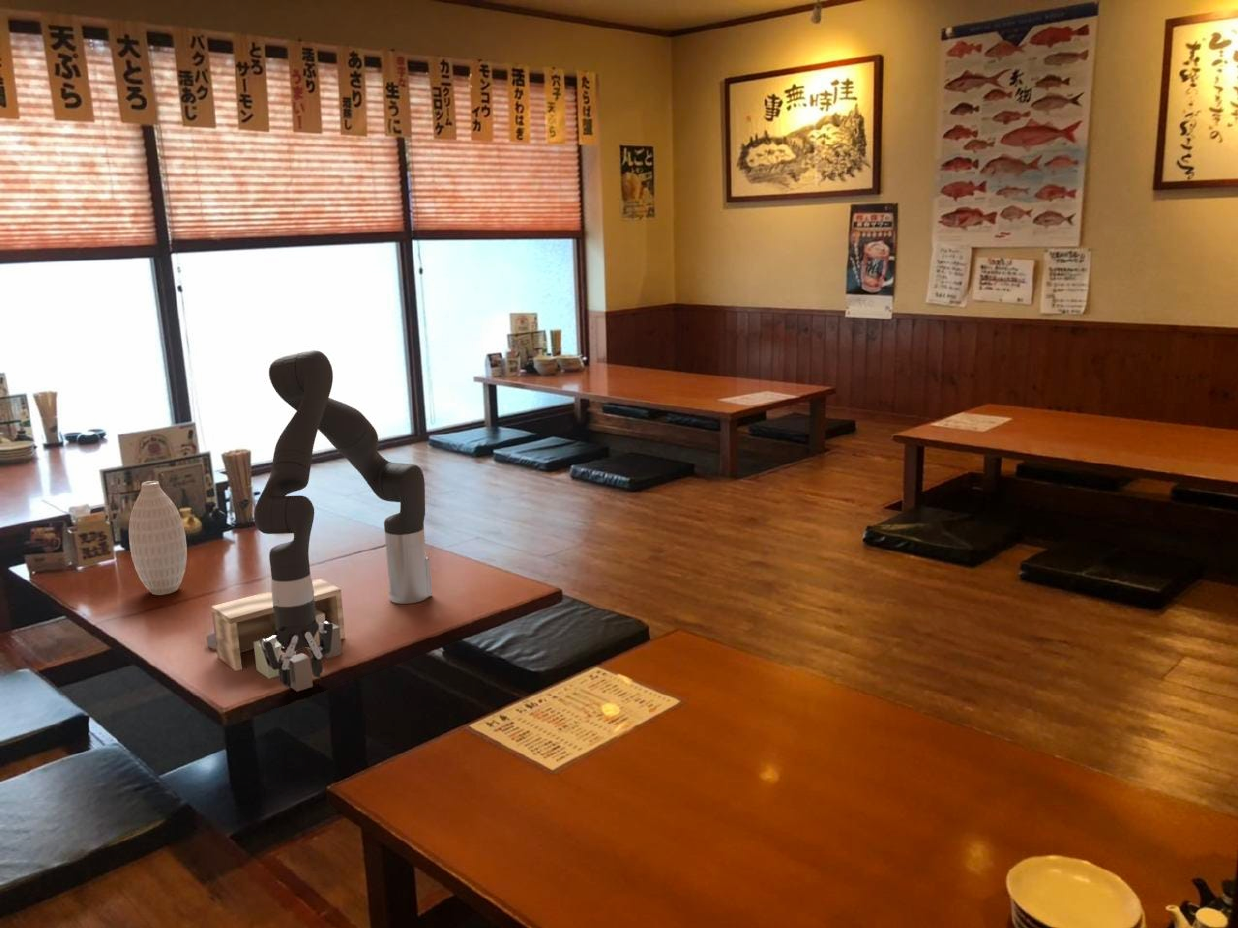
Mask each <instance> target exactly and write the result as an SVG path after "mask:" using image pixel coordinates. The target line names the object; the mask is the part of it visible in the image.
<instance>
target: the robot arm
mask: <svg viewBox="0 0 1238 928" xmlns="http://www.w3.org/2000/svg"><path fill="white" fill-rule="evenodd" d="M333 371H334V370H333V368H332V364H331V362H330V360H329V358H328V357H327V356H326V355H325V354H324V352H322V351H320V350H316V349H315V350H307V351H302V352H297V353H294V354H290V355H285V356H281V357H279V358H277V359H275V360H274V361H272V362H271V364H270V365H269V368H268V376H269V381H270V383H271V385H272V387H273V389H274V391H275V393H276V394H277V395H278V396H279V397H280V399H282V400H283V402H285V403H287V405H289V406H290V407H292V409H294V410H295V411H296V412H295V413H294V414H293V416H292V418H291V419H290V421H289V422H288V423H287V425H286V426H285V428H284V429H283V431H282V433H281V434H280V436H279V437H278V439H277V441H276V445H275V447H274V451H273V457H272V465H271V470H270V474H269V478H268V480H267V482H266V484H265V486H264V488H263V490H262V492H261V493H260V496H259V498H258V500H257V502H256V503H255V508H254V511H253V520H254V525H255V526H256V528H257V529H258V531H259V532H261V533H262V534H265V535H277V534H278V535H283V534H293V539H292V540H291V541H288V542H284V543H280V544H277V545H275V546H273V547H272V548H271V549H270V551H269V556H268V557H269V566H270V574H271V575H270V577H271V590H270V591H272V601H273V610H274V619H275V626H276V630H275V633H274V635H273V636H271V637H269V638H267V639H265V638H262V639H261V640H260V644H261V647H262V650H263V653H264V656H265V659H266V662H267V665H268V666H270V667H271V668H272V669H274V670H276V669H279V676H278V677H279V682H280V683H281V684H282V685H283V686H284V687H286V688H289V687H290V686H291V679H290V670H289V668H288V665H289V662H290V659H291V658H292V656H293V652H294V651H296V652H297V651H299V650H301V649H306V648H307V650H308V652H309V654H310V655H311V657H310V664H311V674H312V677H314V678H320V677H321V674H322V673H323V661H322V660H323V657H324V656H323V655H324V654H326V653H329V652H330V651H331V640H332V630H333V625H332V624H331V623H329V622H327V621H323V622H322V623H317V621H316V612H315V602H314V589H313V583H312V580H313V579H312V575H311V567H310V559H309V558H310V557H309V554H310V553H309V548H310V539H311V533H312V528H313V524H314V519H315V507H314V505H313V502H312V500H310V499H309V497H307V496H306V495H305V496H304V495H298V494H297V495H289V494H292V493H296V492H299V491H302V490H303V489H305V488H306V487H307V486H308V485H309V480H310V474H311V467H312V460H313V459H312V458H313V451H314V447H315V443H316V442H315V441H316V439H317V438H316V437H317V434H318V431H319V432H320V433H321V434H322V435H323V436H324V437H325V438H326V439H327V440H328V442H329V443H330V444H331V445H332V446H333V447H334V448H335V449H336V450H337V451H338V452H339V453H340V454H341V455H342V456H343V457H345V459H346V460H347V461H348V462H349V463H350V464H351V465H352V466H353V468H354V469H356V471H357V472H358V473H359V474H360V475H361V477H362V478H363V479H364V481H365V482H366V484H367V485H368V486H369V487H370V489H371V490H372V491H373V494H375V496H377V497H378V498H379V499H381V500H382V501H385V502H390V503H391V502H392V503H400V505H399V506H400V509H399V510H400V511H399V512H397V513H395V514H392V515H389V516H388V517H386V518H385V519H384V522H383V527H384V541H385V553H386V565H387V578H388V587H389V588H388V591H389V593H388V594H389V599H390V602H392V603H394V604H398V605H399V604H402V605H406V604H408V605H409V604H415V603H420V602H422V601H425V600H427V599H428V598H429V597H431V596H433V588H432V587H433V586H432V574H431V570H432V569H431V560H430V558H429V557H428V556H427V551H426V550H427V549H426V539H425V537H426V536H425V525H424V524H425V522H424V521H425V518H426V490H425V489H426V485H425V483H426V482H425V477H424V476H425V475H424V472H423V471H422V468H421V467H420V466H418V465H417V464H412V463H399V462H391V461H389V460H387V459H385V457H383V456H382V455H381V454H380V453H379V452H378V448H379V435H378V432H377V430H376V428H375V427H374V426H373V424H372V423H371V422H370V421H369V420H368V419H367V418H366V416H365V415H364V414H363V413H362V412H361V411H360V410H358V409H357V408H355V407H353V406H350V405H348V404H346V403H344V402H341V401H338V400H336V399H334V398H330V393H331V390H332V387H333V386H332V385H333V382H334V373H333ZM318 629H319V632H320V633H321V635H320V645H319V648H318V645H317V644H316V642H315V640H314V637H315V635H316V633H317V631H318ZM276 641H278V642H279V643H280V644H281V645H280V649H279V657H278V660H277V659H276V656H275V653H274V650H273V649H274V648H275V642H276ZM290 688H291V687H290Z"/></svg>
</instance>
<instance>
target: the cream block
mask: <svg viewBox="0 0 1238 928" xmlns="http://www.w3.org/2000/svg"><path fill="white" fill-rule="evenodd" d="M315 612H316V621H317V623H322V622H323V621H325V614H324V613H323V612H321V611H319V610H317V609H316V608H315ZM331 624H332V625H333V630H332V640H331V651H330V652H329V653H326V654H324V655H323V656H322V657H324V658H327V659H330V658H333V657H336V656H340V655H342V654H343V651H342V639H341V638H340V627H338V626H337V625H335V624H333V623H331ZM320 635H321V633H320V632H319V629H318V631H317V633H316V635H315V637H314V640H315V642H316V644H317V645H318V648H319V645H320Z"/></svg>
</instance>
